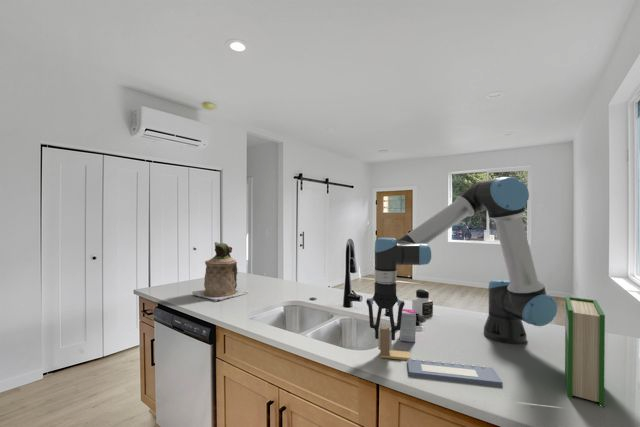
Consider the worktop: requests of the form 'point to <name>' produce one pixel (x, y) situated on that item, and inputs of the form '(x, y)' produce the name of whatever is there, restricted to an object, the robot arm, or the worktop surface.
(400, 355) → the wooden l-shaped block
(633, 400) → the worktop surface
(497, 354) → the worktop surface
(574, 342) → the hardback book
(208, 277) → the cookie jar
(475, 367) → the blue-grey flat rectangular block
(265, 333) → the worktop surface
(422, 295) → the medicine bottle
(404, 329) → the supplement box
